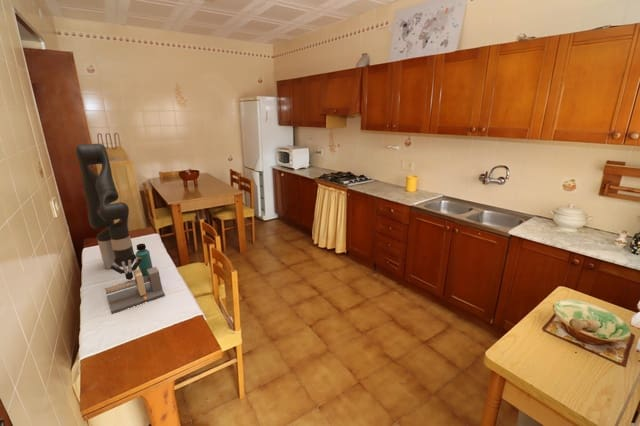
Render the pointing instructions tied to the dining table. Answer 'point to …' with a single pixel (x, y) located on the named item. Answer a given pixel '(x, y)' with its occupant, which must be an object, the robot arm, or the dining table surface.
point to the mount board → (137, 294)
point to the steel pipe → (125, 285)
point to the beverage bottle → (144, 259)
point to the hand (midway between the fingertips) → (129, 279)
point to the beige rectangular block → (139, 281)
